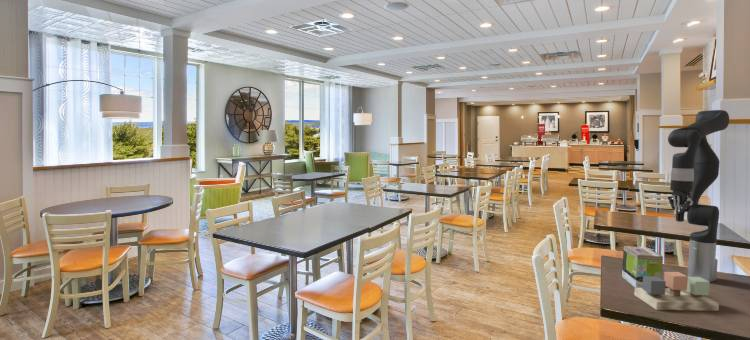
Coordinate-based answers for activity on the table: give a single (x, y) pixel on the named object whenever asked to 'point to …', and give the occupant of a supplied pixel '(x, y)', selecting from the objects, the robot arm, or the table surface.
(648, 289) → the grey cube
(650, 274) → the tea box
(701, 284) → the sage green cube
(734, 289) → the table surface
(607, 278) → the table surface
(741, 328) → the table surface
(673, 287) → the terracotta key
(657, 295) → the key board
